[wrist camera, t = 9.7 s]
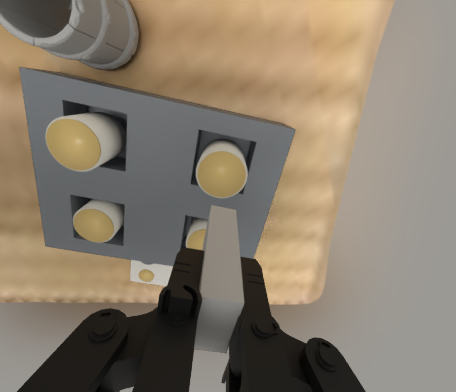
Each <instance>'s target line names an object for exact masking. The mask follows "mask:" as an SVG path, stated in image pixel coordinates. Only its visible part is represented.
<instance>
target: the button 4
mask: <svg viewBox="0 0 456 392" xmlns="http://www.w3.org/2000/svg"><path fill="white" fill-rule="evenodd" d="M247 177H248V171H247V166H246V163H245V159H244V156H243V153H242V150H241V149H240V147H239V146H238V145H237V144H236V143H235V142H233V141H231V140H228V139H216V140H213V141H211V142H210V143H209V144H207V145H206V147H205V148H204V150H203V152H202V154H201V157H200V159H199V162H198V164H197V167H196V180H197V182H198V185H199V186H200V188H201V189H202V190H203V191H204V192H205V193H207V194H208V195H210V196H212V197H215V198H228V197H232V196H234V195H236V194H237V193H239V192H240V191H241V190H242V189H243V187H244V186H245V184H246V181H247Z"/></svg>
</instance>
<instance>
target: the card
mask: <svg viewBox="0 0 456 392" xmlns="http://www.w3.org/2000/svg"><path fill="white" fill-rule="evenodd" d="M172 268H173V266H167V265H161V264H154V263H148V262H142V261H135V260H131V274H130V281H135V282H142V283H149V284H155V285H162V286H167V285H168V281H169V278H170V275H171V272H172Z"/></svg>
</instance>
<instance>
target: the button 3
mask: <svg viewBox="0 0 456 392" xmlns="http://www.w3.org/2000/svg"><path fill="white" fill-rule="evenodd" d="M207 223H208V219H204V218H198V217H192V220H191V224H190V228H189V231H188V235H187V239H186V248H192V249H197V250H202V247H203V241H204V237H205V232H206V228H207Z"/></svg>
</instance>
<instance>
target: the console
mask: <svg viewBox="0 0 456 392" xmlns="http://www.w3.org/2000/svg"><path fill="white" fill-rule="evenodd" d="M19 70H20V76H21V83H22V90H23V97H24V103H25V110H26V117H27V124H28V131H29V137H30V144H31V151H32V158H33V165H34V171H35V178H36V185H37V192H38V199H39V205H40V212H41V219H42V226H43V233H44V239H45V246H46V247H52V248H59V249H65V250H72V251H78V252H84V253H91V254H97V255H103V256H110V257H116V258H123V259H129V260H135V261H142V262H148V263H154V264H161V265H167V266H173V265H174V262H175V259H176V255H177V253H178V252H179V251H180V250H181V249H182V248H183V247H186V239H187V235H188V231H189V228H190V224H191V220H192V217H198V218H204V219H208V218H209V214H210V209H211V205H214V206H219V207H224V208H229V209H234V210H236V214H237V226H238V237H239V248H240V256H241V257H246V258H252V259H253V258H254V255H255V252H256V249H257V246H258V243H259V240H260V237H261V234H262V231H263V228H264V225H265V222H266V219H267V216H268V213H269V210H270V207H271V203H272V200H273V197H274V194H275V191H276V188H277V185H278V182H279V179H280V176H281V173H282V170H283V167H284V164H285V161H286V158H287V155H288V152H289V149H290V146H291V143H292V140H293V136H294V133H295V129H293V128H291V127H289V126H287V125H285V124H283V123H278V122H274V121H270V120H265V119H261V118H257V117H252V116H248V115H243V114H239V113H235V112H230V111H226V110H222V109H217V108H213V107H208V106H204V105H200V104H195V103H191V102H187V101H182V100H178V99H173V98H169V97H165V96H160V95H156V94H152V93H147V92H143V91H138V90H134V89H130V88H125V87H121V86H117V85H112V84H108V83H103V82H99V81H95V80H90V79H86V78H82V77H77V76H73V75H68V74H64V73H60V72H53V71H46V70H39V69H31V68H24V67H19ZM91 112H104V113H107V114H109V115H111V116H113V117H114V118H115V119H117V120H118V121H119V122H120V124H121V125H122V127H123V128H124V131H125V134H126V145H125V148H124V150H123V151H122V152H121V153H120V154H119V155H117V156H116V157H114V158H112V159H110V160H108V161H107V162H105V163H103V164H101V165H100V166H98V167H96V168H94V169H93V170H90V171H86V172H78V171H74V170H71V169H68V168H66V167H64V166H63V165H61V164H60V163H59V162H58V161H57V160H56V159H55V158H54V157H53V156H52V154H51V153H50V151H49V149H48V147H47V144H46V138H45V135H46V129H47V127H48V125H49V124H50V123H51V122H52V121H53V120H54V119H56V118H58V117H62V116H69V115H77V114H84V113H91ZM216 139H228V140H231V141H233V142H235V143H236V144H237V145H238V146H239V147H240V149H241V150H242V153H243V156H244V159H245V163H246V166H247V171H248V177H247V181H246V184H245V186H244V187H243V189H242V190H241V191H240V192H239V193H237V194H236V195H234V196H232V197H228V198H215V197H212V196H210V195H208V194H207V193H205V192H204V191H203V190H202V189H201V188H200V186H199V185H198V182H197V180H196V167H197V164H198V162H199V159H200V157H201V154H202V152H203V150H204V148H205V147H206V145H207V144H209V143H210V142H211V141H213V140H216ZM92 199H98V200H103V201H109V202H114V203H120V204H125V212H124V224H123V225H122V226H121V228H120V229H119V230H118V231H117V233H116V234H115V235H114V236H113V238H112V239H110V240H109V241H106V242H102V243H96V242H92V241H89V240H86V239H85V238H83V237H82V236H80V235H79V234H78V232H77V231H76V230H75V228H74V225H73V217H74V214H75V213H76V212H77V211H78V210H79V209H81V208H82V207H83V206H84V205H86V204H87V203H88V202H89V201H91V200H92Z"/></svg>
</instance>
